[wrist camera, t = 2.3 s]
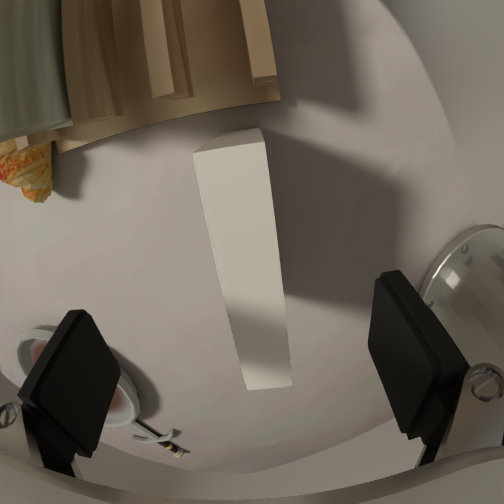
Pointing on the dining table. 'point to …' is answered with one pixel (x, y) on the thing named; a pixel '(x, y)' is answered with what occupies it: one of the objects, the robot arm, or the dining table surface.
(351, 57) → the dining table surface
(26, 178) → the croissant
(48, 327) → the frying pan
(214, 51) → the rack
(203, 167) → the white rectangular slab
